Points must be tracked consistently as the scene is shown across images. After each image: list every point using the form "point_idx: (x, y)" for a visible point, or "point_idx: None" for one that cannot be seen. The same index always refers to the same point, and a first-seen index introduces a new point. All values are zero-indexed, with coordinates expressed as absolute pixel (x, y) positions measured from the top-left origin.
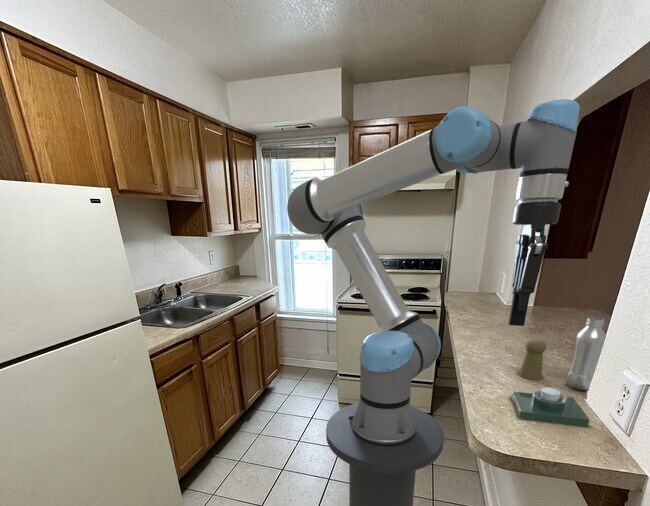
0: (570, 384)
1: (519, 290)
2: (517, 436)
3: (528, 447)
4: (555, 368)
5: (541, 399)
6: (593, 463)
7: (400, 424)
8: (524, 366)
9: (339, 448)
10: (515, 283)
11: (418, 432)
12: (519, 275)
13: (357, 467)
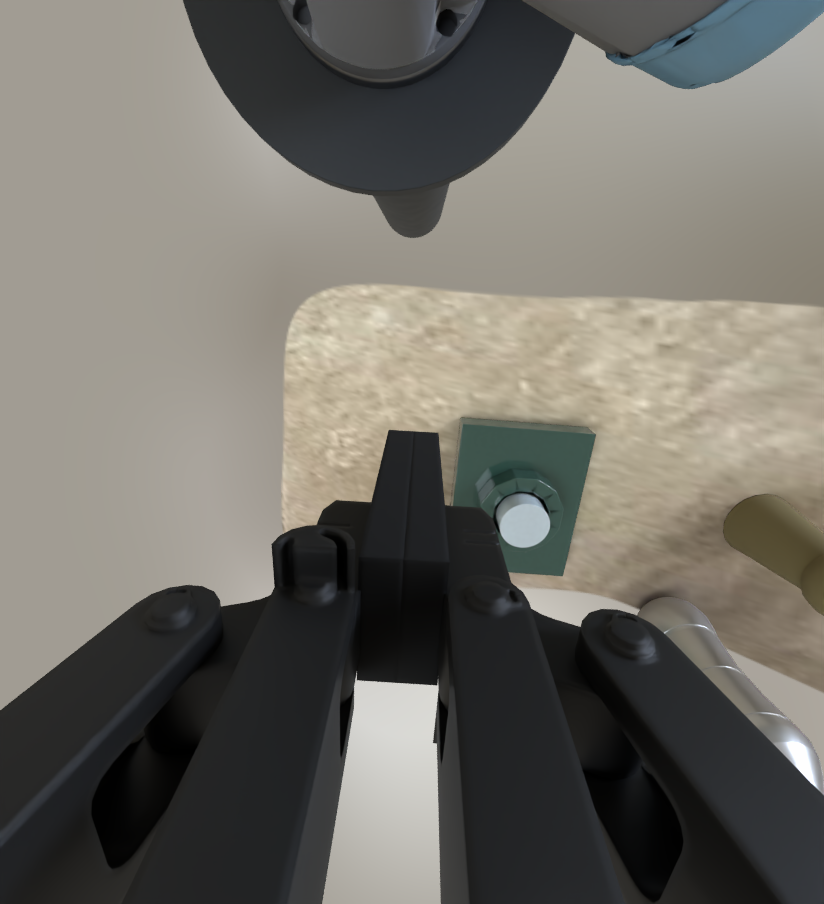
0: (660, 600)
1: (153, 602)
2: (366, 389)
3: (321, 402)
4: (806, 606)
5: (501, 491)
6: (295, 511)
7: None
8: (779, 518)
9: None
10: (484, 661)
11: (380, 100)
12: (258, 829)
13: None
